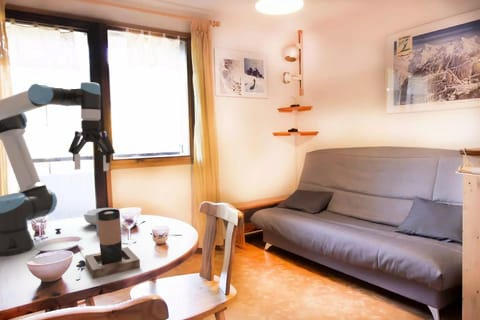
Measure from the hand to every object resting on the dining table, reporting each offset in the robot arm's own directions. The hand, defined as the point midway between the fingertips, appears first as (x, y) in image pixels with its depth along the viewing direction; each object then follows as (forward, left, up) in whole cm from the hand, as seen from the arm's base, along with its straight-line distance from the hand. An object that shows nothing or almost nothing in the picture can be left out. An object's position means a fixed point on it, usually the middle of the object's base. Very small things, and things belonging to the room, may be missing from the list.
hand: (91, 170), depth 147 cm
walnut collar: (+19, -18, -33) cm, 42 cm away
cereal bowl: (-18, +31, -34) cm, 49 cm away
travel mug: (+19, -18, -33) cm, 42 cm away
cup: (-7, +18, -34) cm, 39 cm away
